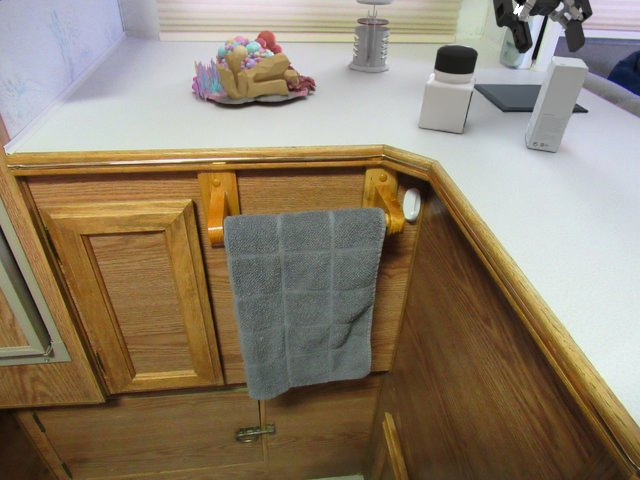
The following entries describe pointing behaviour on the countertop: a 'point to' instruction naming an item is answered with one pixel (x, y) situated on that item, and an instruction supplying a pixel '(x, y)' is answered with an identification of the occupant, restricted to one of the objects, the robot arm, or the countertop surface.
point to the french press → (371, 41)
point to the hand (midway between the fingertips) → (552, 49)
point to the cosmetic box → (555, 102)
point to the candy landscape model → (250, 73)
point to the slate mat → (515, 97)
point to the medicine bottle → (449, 89)
